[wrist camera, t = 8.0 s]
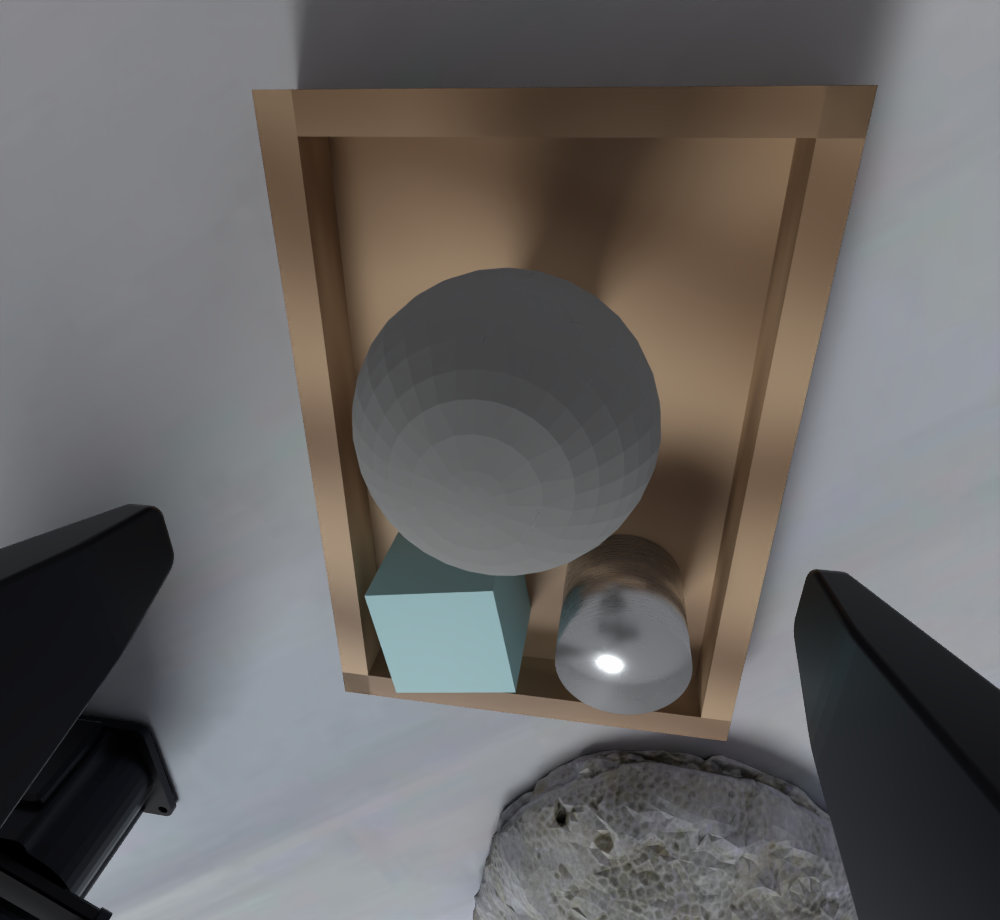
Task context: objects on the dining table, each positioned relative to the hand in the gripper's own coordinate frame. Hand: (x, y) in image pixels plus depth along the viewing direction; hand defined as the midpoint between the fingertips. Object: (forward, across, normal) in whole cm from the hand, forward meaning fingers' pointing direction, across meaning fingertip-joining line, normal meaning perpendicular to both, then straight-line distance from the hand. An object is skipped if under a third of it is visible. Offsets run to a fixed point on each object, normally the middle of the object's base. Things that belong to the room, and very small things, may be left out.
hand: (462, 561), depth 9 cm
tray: (+12, 0, +4) cm, 13 cm away
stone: (+13, -7, +26) cm, 29 cm away
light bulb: (+12, 0, 0) cm, 12 cm away
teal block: (+12, +3, +9) cm, 15 cm away
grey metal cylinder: (+12, -3, +9) cm, 15 cm away
